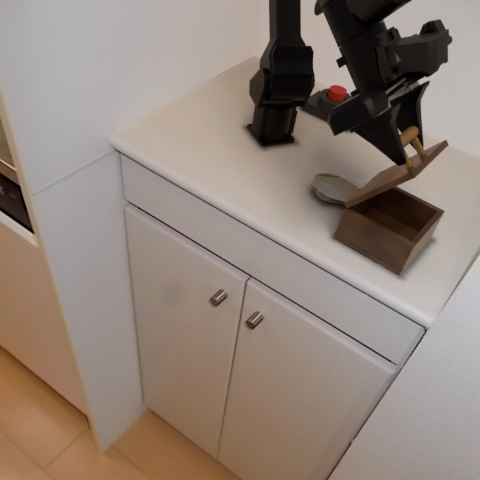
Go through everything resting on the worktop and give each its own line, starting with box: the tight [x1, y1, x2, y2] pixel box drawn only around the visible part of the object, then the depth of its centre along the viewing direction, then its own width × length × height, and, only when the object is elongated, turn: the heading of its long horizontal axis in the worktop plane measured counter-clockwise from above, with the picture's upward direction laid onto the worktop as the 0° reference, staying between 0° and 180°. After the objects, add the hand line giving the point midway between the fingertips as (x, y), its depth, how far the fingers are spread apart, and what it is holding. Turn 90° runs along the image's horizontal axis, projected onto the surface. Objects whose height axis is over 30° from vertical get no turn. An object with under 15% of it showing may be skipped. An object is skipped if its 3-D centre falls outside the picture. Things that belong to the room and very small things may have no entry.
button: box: [327, 84, 348, 102], centre depth 95 cm, size 3×3×2 cm
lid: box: [343, 126, 450, 208], centre depth 69 cm, size 11×11×5 cm
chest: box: [333, 186, 445, 276], centre depth 74 cm, size 11×11×5 cm
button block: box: [300, 87, 352, 132], centre depth 97 cm, size 10×6×4 cm, turn 54°
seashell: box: [309, 172, 360, 205], centre depth 80 cm, size 8×3×8 cm
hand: (411, 156), depth 66 cm, fingers closed on lid, 5 cm apart
